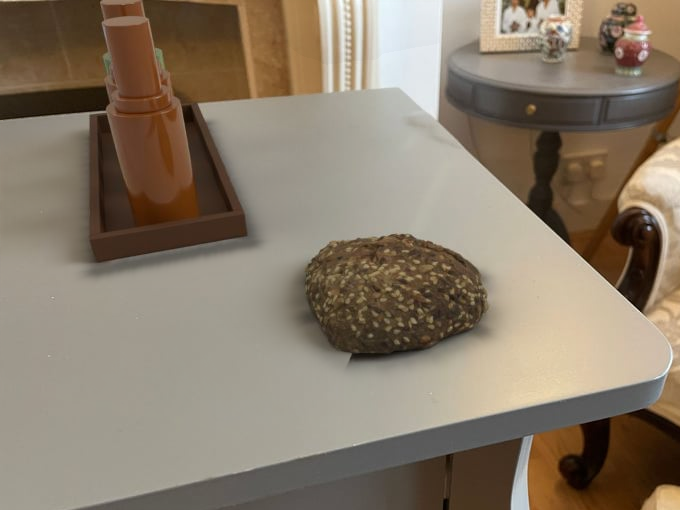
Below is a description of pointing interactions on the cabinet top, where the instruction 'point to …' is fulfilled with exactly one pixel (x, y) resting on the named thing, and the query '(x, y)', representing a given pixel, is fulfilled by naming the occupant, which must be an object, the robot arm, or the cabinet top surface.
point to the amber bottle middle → (120, 4)
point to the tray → (127, 241)
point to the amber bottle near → (148, 128)
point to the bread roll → (393, 293)
